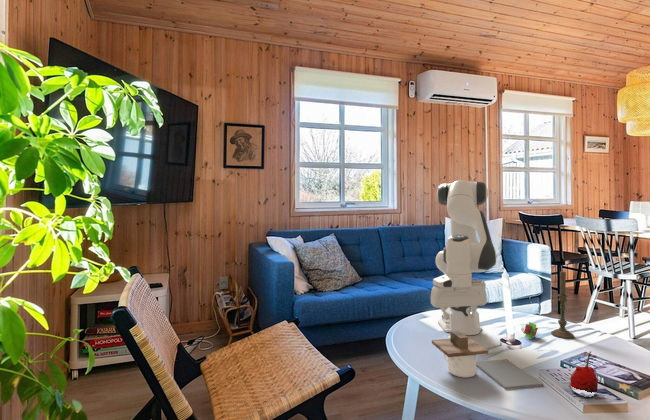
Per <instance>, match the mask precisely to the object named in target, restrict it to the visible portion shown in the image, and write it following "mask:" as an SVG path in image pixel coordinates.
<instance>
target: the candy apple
mask: <svg viewBox="0 0 650 420" xmlns="http://www.w3.org/2000/svg"><path fill="white" fill-rule="evenodd" d="M585 353H586V354H587V360H585V361H586V364H585V366H579V365H578V366H576V367H575V370H574V371H573V372H572V374H571V375H570V377H569V380H570V382H569V386H570V385H571V386H572V387H574V388H576V389H580V390H585V391H587V392H591V393H592V392H597V391H598V384H599V381H598V377H597V375H596V373H595V370H594V367H592V366H589V362H590V358H593V359H597V355H596V354H595V355H592V354H591V353H592V351H589V352H587V351H585ZM597 393H598V392H597Z"/></svg>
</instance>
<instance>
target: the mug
mask: <svg viewBox="0 0 650 420" xmlns="http://www.w3.org/2000/svg"><path fill="white" fill-rule="evenodd" d="M443 357H444V359H445V361H446V363H447V365H448V366H447V369H448V372H449V373H450V374H452V375H453V376H455V377H459V378H466V379H467V378H472V377H474V376H475V375H476V373H477V366H476V362H477V355H469V356H457V357H447V356H446V355H445V354H444V353H443Z"/></svg>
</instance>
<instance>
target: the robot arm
mask: <svg viewBox="0 0 650 420" xmlns="http://www.w3.org/2000/svg"><path fill="white" fill-rule="evenodd" d="M488 197H489V190H488V187H487V185H486V183H485V182H482V181H466V180H464V179H461V180H459V179H458V180H456V181H454V182H449V183H447V182H445V183H441V184H440V185H438V187H437V191H436V199H437V202H438V203H439V204H440V205H441V206H445V207H446V211H447V215H448V216H449V217H450V235H449V236H448V237H447V241H446V245H445V247H443V250H440V251H438V253H437V254H436V257H435V266H436V268H437V269H438V270H439V271H440V272H442V273H443V274H442V275H439V276H438V277H435V278H433V280H432V284H433V286H432V288H431V291H430V304H431V306H433V307H434V308H436V309H440V310H441V312H442V314H441V319H438V320H437V323H438V325H439V326H440V327H441V328H442V330H443V331H444V332H446V333H450V331H459V332H461V333H462V334H464V335H465V336H474V335H478V334H479V333H480V332H481V331H482V330H483V327H482V326H481V325H480V323H481V322H480V313H479V312H478V311H477V310H478V307H480V306H481V307H482V306H485V305H486V304H487V302H488V297H487V291H486V289H487V287H486V286H487V285H486V282H485V281H484V280H482V279H479V278H478V279H473V278H472V277H473V276H472V275H473V274H472V273H483V272H487V271H489V270H491V269H492V268H494V266H496V264H497V257H498V256H497V255H498V254H497V252H496V251H497V250H496V249H495V246H494V244H493V240H492V237H491V234H490V233H491V232H490V230H489V227H488V223H487V219H486V216H485V214H484V212H483V211H482V210H480V209H479V207H480V206H481V205H483V204H484V203H486V201H487V199H488ZM477 236H478V238H477ZM478 239H479V240H478Z"/></svg>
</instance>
